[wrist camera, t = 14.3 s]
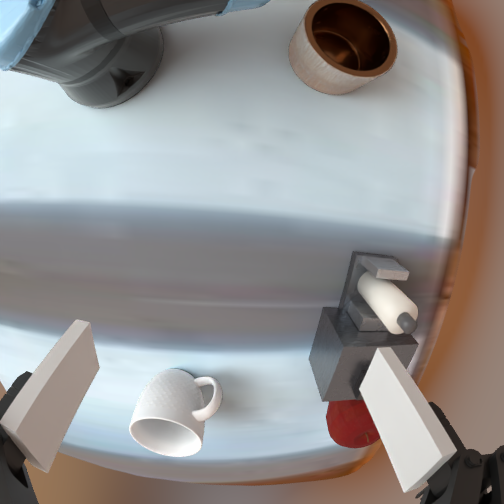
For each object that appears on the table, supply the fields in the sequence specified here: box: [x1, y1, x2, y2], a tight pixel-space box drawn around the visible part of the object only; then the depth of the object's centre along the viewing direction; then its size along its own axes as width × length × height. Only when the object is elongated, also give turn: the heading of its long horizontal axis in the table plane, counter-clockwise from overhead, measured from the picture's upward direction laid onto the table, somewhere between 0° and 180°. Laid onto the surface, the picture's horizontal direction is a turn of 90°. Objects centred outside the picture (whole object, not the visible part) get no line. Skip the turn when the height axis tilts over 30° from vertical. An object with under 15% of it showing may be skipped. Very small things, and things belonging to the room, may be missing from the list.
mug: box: [129, 369, 222, 457], centre depth 39 cm, size 15×11×13 cm
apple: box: [326, 399, 380, 448], centre depth 42 cm, size 12×12×13 cm
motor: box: [309, 251, 419, 402], centre depth 37 cm, size 22×12×12 cm, turn 173°
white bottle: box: [357, 271, 418, 334], centre depth 33 cm, size 4×4×12 cm
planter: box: [289, 0, 397, 95], centre depth 26 cm, size 11×11×10 cm
